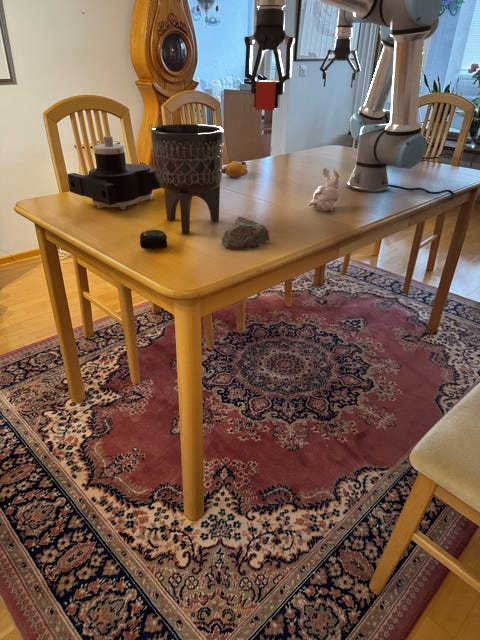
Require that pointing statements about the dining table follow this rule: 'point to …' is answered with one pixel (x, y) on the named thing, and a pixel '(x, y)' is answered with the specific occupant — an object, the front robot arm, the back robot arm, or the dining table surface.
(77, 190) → the mechanical component
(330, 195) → the figurine
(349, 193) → the dining table surface
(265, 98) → the brick
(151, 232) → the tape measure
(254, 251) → the dining table surface
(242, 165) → the toy
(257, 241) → the rock
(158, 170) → the planter
